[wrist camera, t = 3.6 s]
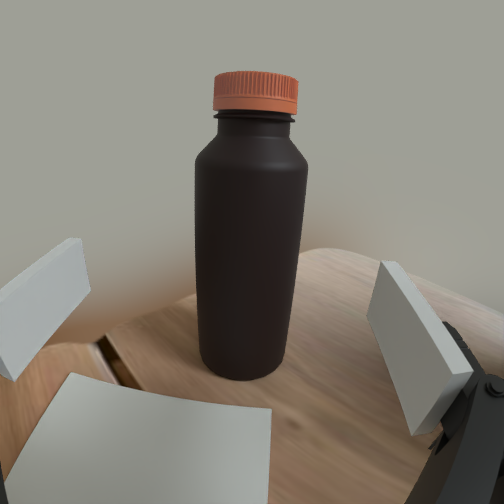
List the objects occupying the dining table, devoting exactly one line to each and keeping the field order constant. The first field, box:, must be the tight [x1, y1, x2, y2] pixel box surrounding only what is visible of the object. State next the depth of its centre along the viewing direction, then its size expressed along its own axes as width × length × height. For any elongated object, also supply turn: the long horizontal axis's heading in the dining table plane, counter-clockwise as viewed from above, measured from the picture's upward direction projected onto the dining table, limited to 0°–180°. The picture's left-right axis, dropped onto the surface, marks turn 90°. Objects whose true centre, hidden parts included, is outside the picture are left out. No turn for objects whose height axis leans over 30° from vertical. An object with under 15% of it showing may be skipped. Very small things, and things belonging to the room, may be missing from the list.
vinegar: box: [195, 71, 308, 380], centre depth 20 cm, size 7×7×20 cm
